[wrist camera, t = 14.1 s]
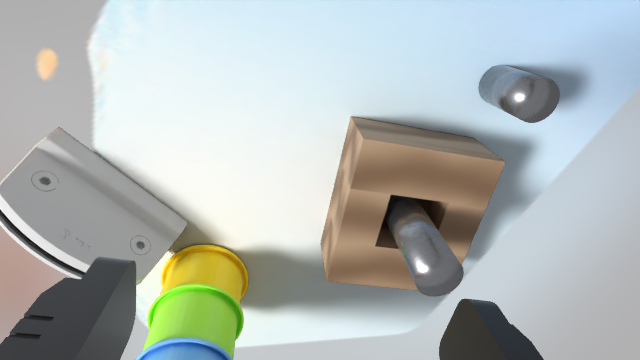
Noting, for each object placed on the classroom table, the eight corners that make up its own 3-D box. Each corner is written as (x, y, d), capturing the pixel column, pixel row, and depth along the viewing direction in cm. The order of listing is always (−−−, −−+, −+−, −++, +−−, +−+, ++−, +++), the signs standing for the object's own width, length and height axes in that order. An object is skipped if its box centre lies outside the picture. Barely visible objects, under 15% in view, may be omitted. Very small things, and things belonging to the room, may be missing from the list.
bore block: (350, 116, 40) (363, 138, 34) (472, 137, 43) (505, 162, 36) (320, 242, 47) (326, 281, 41) (428, 255, 49) (449, 293, 43)
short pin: (487, 61, 39) (526, 74, 33) (522, 68, 40) (567, 82, 34) (473, 100, 41) (508, 118, 35) (507, 106, 42) (547, 126, 35)
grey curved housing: (191, 224, 44) (147, 299, 37) (170, 240, 47) (124, 313, 39) (55, 123, 38) (-32, 188, 30) (39, 148, 41) (-46, 213, 33)
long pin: (380, 174, 44) (423, 254, 30) (413, 179, 44) (470, 259, 31) (371, 205, 45) (408, 294, 32) (403, 209, 46) (453, 298, 32)
